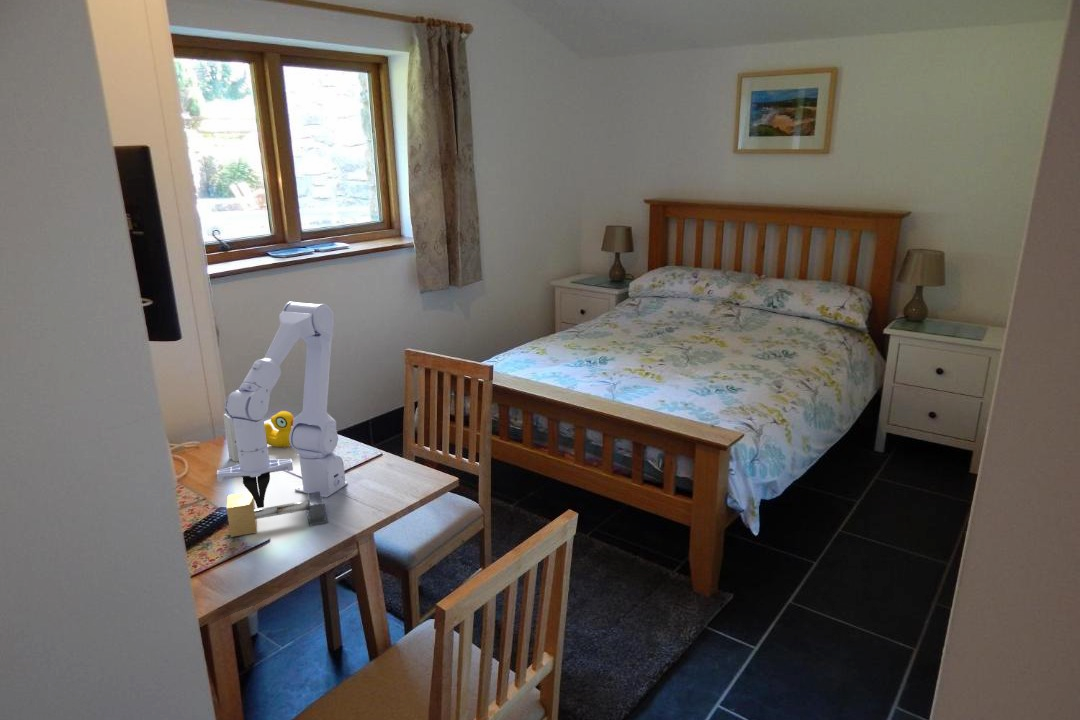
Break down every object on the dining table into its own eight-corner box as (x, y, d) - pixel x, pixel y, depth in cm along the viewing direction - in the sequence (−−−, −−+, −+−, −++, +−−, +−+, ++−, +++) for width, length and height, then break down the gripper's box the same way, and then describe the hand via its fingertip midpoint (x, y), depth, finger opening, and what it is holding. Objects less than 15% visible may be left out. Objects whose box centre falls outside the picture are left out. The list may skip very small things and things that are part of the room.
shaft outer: (278, 512, 153) (276, 504, 152) (278, 516, 151) (277, 508, 151) (232, 520, 150) (231, 511, 149) (232, 525, 148) (231, 516, 148)
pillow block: (325, 505, 160) (323, 488, 158) (328, 522, 152) (326, 504, 151) (306, 509, 158) (304, 491, 157) (308, 526, 151) (306, 508, 150)
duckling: (308, 442, 194) (304, 408, 191) (300, 451, 188) (296, 415, 185) (268, 441, 194) (263, 407, 192) (259, 450, 189) (254, 415, 186)
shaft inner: (321, 504, 156) (321, 496, 156) (322, 508, 154) (321, 500, 154) (277, 512, 153) (276, 504, 152) (277, 516, 151) (276, 508, 151)
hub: (256, 518, 154) (252, 491, 152) (256, 532, 148) (252, 503, 146) (231, 523, 152) (227, 495, 150) (231, 537, 147) (226, 508, 145)
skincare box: (235, 462, 182) (228, 418, 178) (228, 457, 185) (221, 414, 181) (258, 455, 186) (252, 412, 182) (251, 450, 189) (245, 407, 186)
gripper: (212, 459, 140) (222, 521, 144) (290, 448, 145) (297, 507, 149) (214, 446, 146) (223, 505, 150) (288, 435, 151) (295, 493, 155)
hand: (260, 505), depth 150 cm, fingers closed
